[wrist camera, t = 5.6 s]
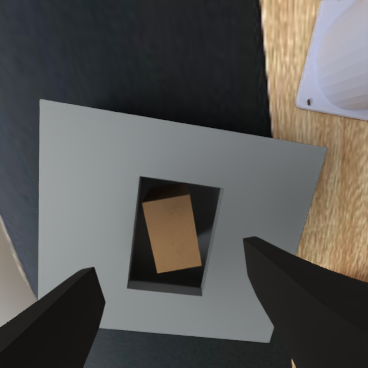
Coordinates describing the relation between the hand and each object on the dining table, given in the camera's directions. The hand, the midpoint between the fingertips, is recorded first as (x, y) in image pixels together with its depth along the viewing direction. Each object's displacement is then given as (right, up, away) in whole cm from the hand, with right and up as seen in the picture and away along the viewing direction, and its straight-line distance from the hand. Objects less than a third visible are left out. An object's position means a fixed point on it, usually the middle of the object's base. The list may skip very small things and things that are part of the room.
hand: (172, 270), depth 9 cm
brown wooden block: (0, +2, +7) cm, 7 cm away
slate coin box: (0, +2, +8) cm, 8 cm away
